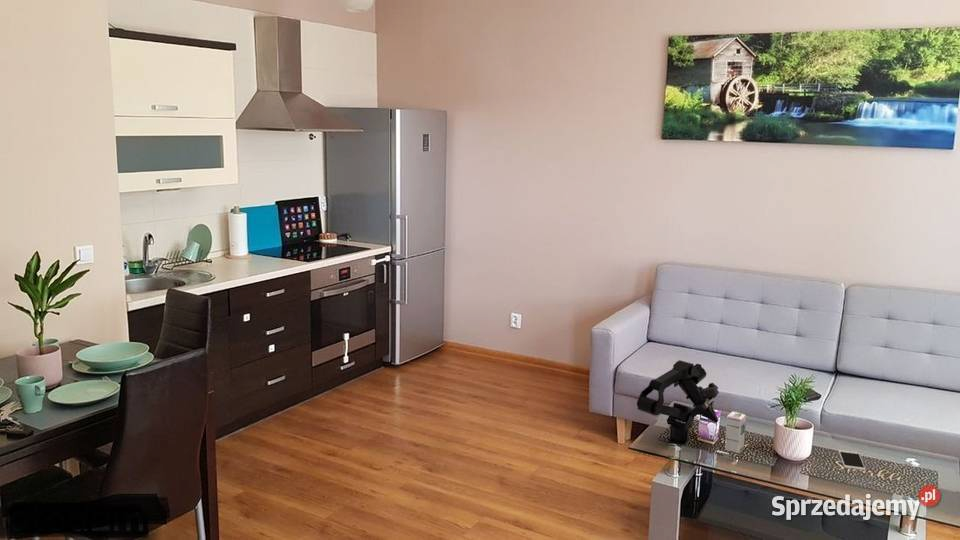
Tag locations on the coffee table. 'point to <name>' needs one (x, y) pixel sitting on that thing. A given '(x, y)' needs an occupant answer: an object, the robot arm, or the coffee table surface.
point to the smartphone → (851, 460)
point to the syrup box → (735, 432)
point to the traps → (727, 457)
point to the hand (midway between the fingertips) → (717, 421)
